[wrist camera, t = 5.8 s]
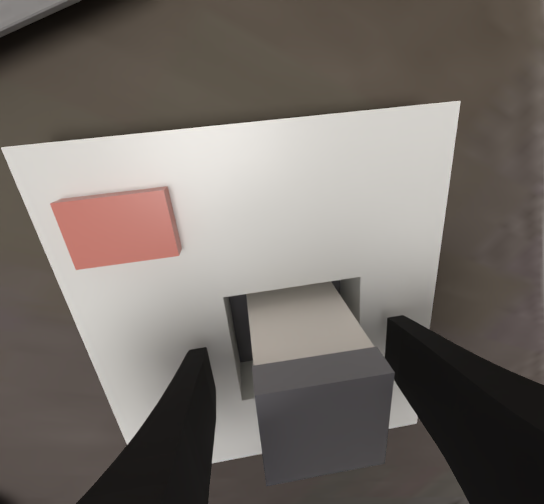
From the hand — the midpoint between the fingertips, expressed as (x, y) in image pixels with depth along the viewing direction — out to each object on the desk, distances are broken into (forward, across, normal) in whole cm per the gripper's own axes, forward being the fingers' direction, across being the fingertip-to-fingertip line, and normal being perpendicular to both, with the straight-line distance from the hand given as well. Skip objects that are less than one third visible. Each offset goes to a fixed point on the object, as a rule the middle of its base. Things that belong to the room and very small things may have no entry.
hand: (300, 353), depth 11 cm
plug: (+3, 0, 0) cm, 3 cm away
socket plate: (+3, +1, -1) cm, 3 cm away
